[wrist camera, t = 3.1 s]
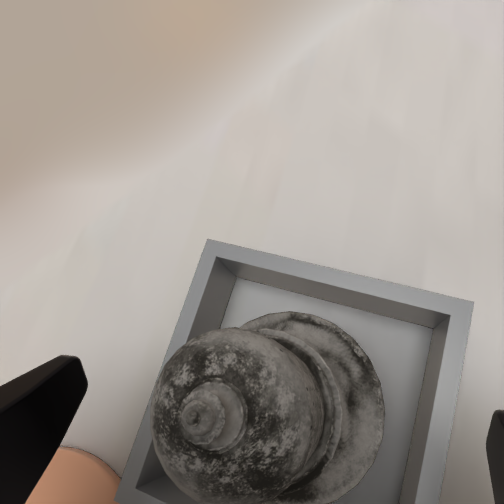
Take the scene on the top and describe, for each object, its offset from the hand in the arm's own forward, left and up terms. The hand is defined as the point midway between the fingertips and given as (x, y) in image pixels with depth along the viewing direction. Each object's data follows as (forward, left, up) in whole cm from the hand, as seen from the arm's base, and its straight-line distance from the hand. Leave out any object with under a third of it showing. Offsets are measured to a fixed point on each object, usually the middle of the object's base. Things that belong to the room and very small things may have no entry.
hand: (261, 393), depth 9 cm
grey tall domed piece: (0, 0, -8) cm, 8 cm away
